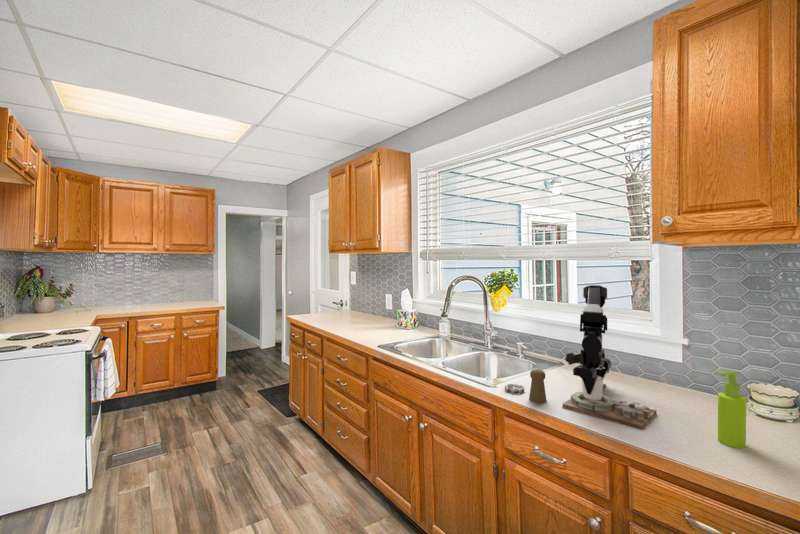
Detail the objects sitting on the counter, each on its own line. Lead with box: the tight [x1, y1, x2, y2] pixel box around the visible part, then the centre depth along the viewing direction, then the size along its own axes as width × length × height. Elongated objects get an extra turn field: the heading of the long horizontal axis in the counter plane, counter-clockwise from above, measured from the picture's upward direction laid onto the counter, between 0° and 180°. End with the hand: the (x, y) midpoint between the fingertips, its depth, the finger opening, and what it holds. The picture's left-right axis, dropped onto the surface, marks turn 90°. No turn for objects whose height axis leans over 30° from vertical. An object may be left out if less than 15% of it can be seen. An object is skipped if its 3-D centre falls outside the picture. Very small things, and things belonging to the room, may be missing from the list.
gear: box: [504, 383, 525, 394], centre depth 147 cm, size 7×7×2 cm
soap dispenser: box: [716, 369, 747, 449], centre depth 105 cm, size 6×7×20 cm
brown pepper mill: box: [528, 369, 548, 404], centre depth 137 cm, size 6×6×11 cm
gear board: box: [562, 391, 657, 431], centre depth 127 cm, size 16×24×4 cm, turn 43°
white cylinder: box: [581, 375, 605, 400], centre depth 131 cm, size 7×7×7 cm
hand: (592, 391), depth 131 cm, fingers closed on white cylinder, 6 cm apart
